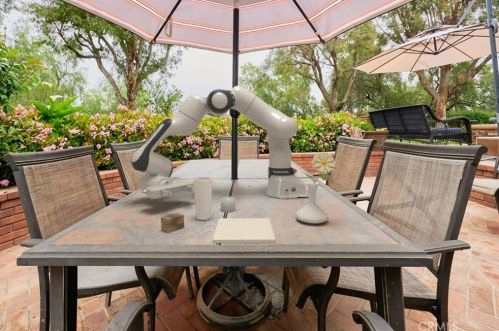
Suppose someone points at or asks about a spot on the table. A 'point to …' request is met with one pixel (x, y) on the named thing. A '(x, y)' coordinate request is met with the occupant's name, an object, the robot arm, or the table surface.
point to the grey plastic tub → (228, 204)
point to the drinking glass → (203, 197)
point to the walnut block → (172, 222)
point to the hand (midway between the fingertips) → (182, 192)
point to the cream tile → (244, 230)
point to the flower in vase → (312, 210)
